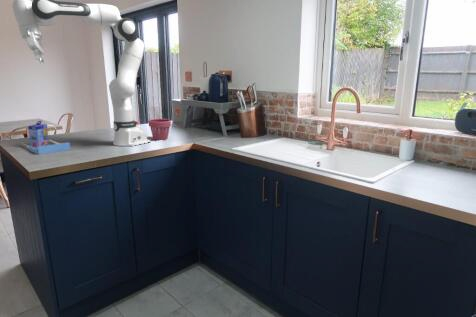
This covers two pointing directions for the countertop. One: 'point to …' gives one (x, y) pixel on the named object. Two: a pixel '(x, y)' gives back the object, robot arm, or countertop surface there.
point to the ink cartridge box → (38, 134)
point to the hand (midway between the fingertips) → (40, 60)
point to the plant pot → (160, 128)
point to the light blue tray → (48, 147)
